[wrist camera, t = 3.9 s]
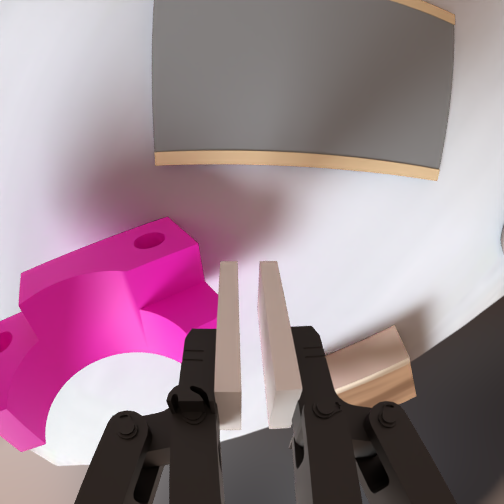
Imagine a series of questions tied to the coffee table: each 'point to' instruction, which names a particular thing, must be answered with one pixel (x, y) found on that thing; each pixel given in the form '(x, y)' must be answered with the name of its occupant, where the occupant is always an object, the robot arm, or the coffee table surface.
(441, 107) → the mat
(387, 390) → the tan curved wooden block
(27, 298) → the toy block
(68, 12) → the coffee table surface
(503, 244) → the cupcake
